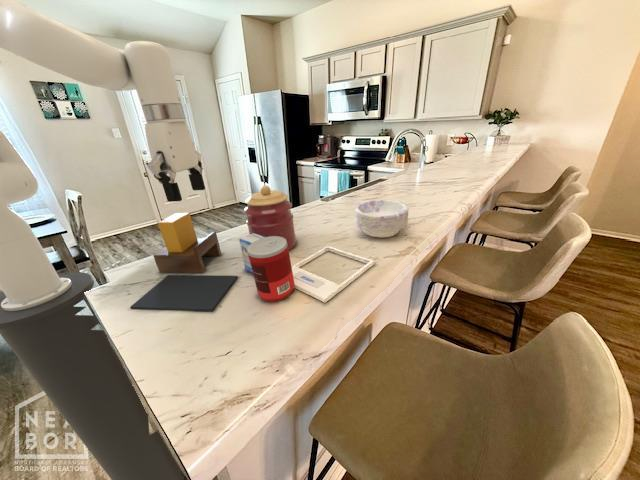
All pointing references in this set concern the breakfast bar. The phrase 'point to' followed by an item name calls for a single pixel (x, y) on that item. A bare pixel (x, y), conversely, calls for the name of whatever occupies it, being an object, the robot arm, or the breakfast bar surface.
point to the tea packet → (178, 232)
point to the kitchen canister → (270, 215)
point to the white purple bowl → (381, 217)
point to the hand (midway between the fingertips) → (187, 195)
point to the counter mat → (186, 293)
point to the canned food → (271, 268)
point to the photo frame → (319, 285)
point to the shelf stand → (188, 256)
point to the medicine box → (244, 244)
